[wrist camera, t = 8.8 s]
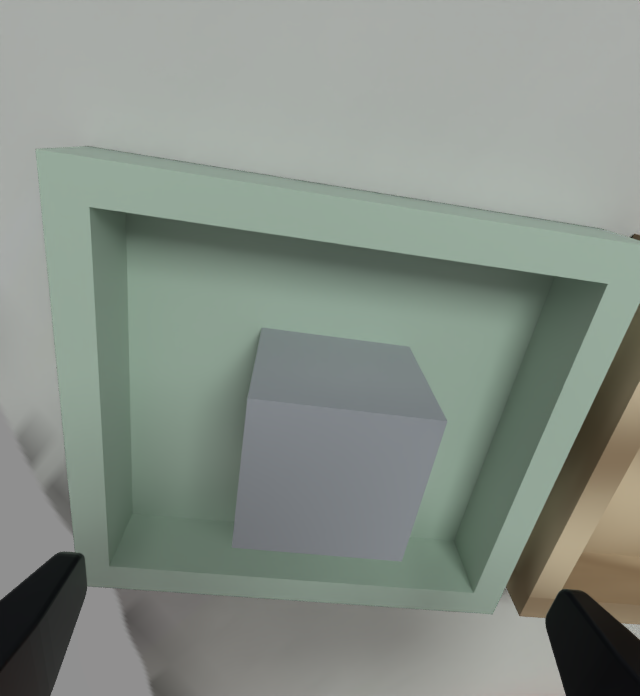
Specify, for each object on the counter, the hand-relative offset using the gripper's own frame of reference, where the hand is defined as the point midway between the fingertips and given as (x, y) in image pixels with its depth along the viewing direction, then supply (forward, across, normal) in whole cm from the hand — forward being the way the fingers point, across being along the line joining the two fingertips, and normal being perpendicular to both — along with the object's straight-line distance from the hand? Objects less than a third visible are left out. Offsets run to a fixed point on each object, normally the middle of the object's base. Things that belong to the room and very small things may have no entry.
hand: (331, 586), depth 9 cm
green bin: (+7, 0, 0) cm, 7 cm away
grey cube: (+7, 0, 0) cm, 7 cm away
